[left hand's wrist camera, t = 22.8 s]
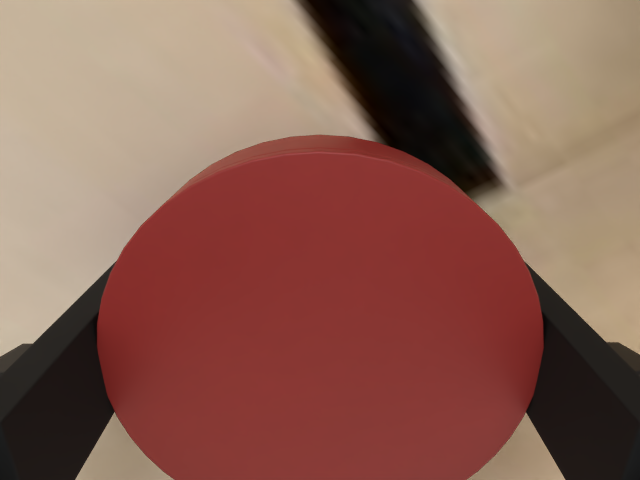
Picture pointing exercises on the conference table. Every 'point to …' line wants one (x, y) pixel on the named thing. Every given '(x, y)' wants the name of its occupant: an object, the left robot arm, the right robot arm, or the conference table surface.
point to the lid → (320, 321)
